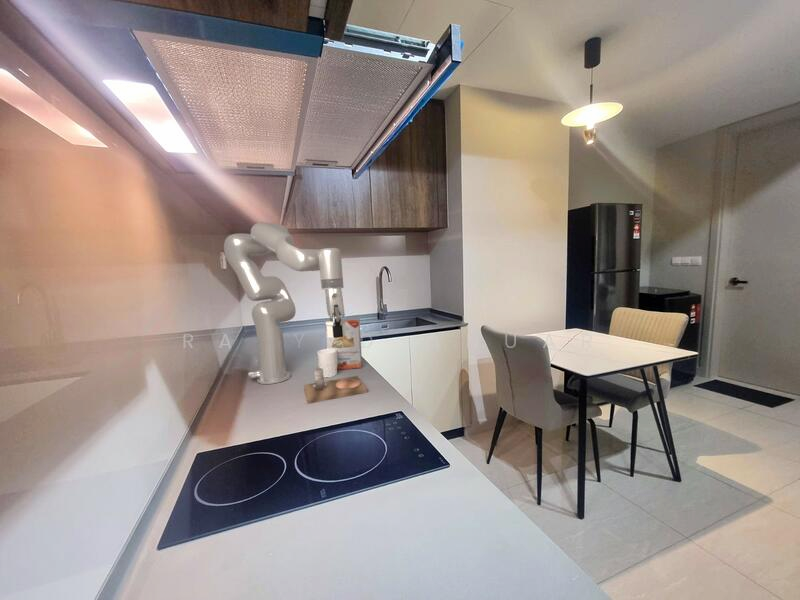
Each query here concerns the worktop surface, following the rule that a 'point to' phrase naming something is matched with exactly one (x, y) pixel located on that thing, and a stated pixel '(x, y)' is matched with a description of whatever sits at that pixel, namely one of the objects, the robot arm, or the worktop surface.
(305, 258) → the robot arm
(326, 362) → the white cup
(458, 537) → the worktop surface
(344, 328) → the cap
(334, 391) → the post board
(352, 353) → the cracker box
